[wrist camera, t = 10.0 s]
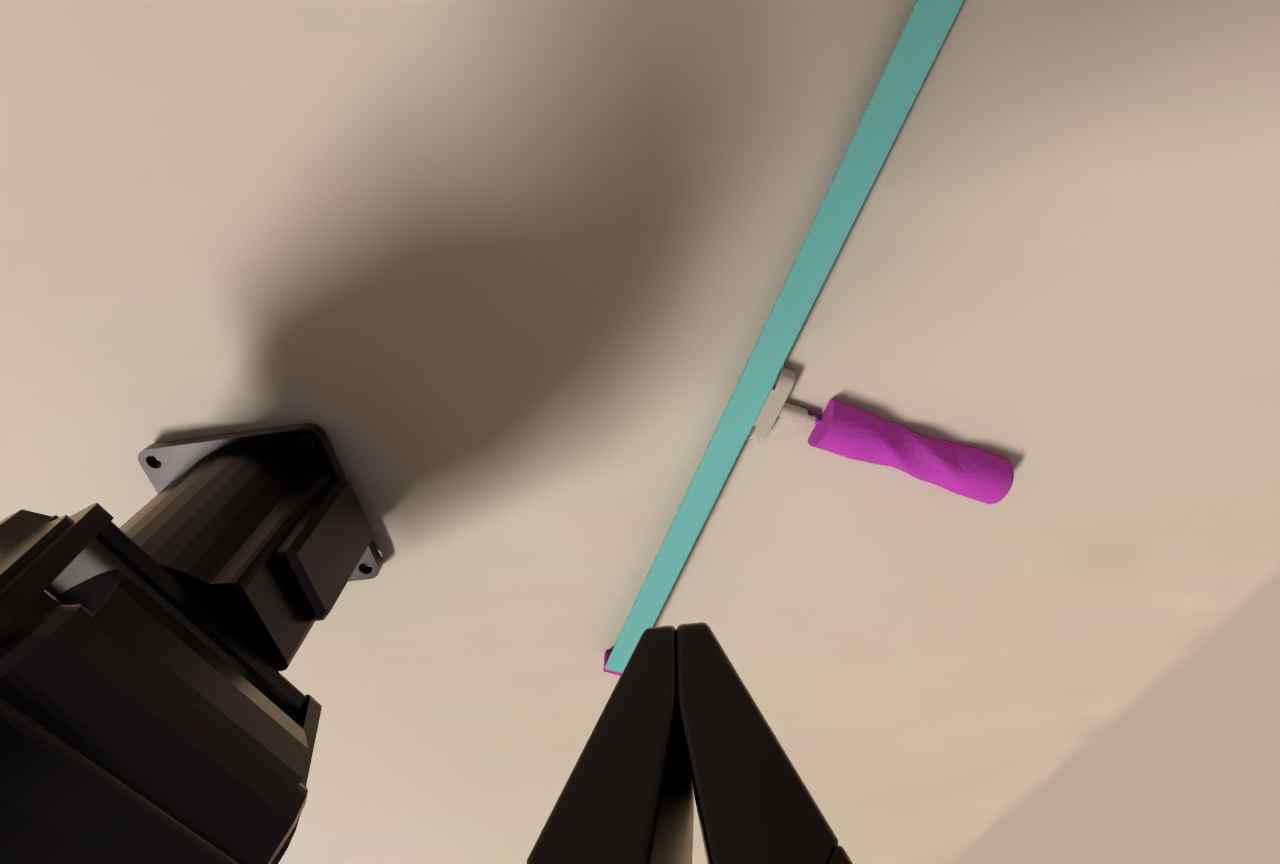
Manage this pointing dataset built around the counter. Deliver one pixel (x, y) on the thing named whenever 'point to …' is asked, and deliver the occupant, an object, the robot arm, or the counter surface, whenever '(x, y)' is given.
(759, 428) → the squeegee
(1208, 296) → the counter surface
